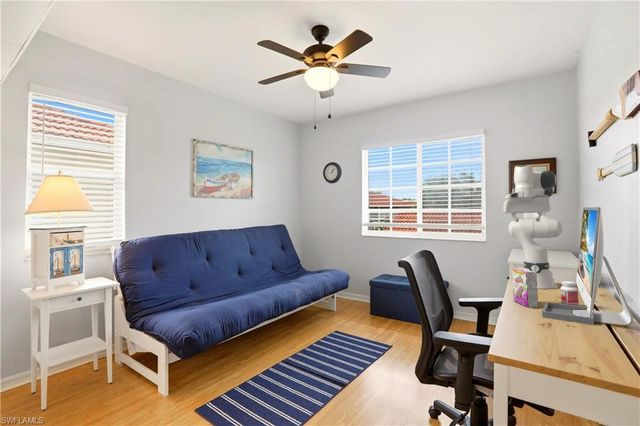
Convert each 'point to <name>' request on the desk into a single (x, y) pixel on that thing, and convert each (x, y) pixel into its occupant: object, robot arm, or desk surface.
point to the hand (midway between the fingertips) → (527, 221)
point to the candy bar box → (525, 287)
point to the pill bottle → (569, 293)
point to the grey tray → (566, 313)
